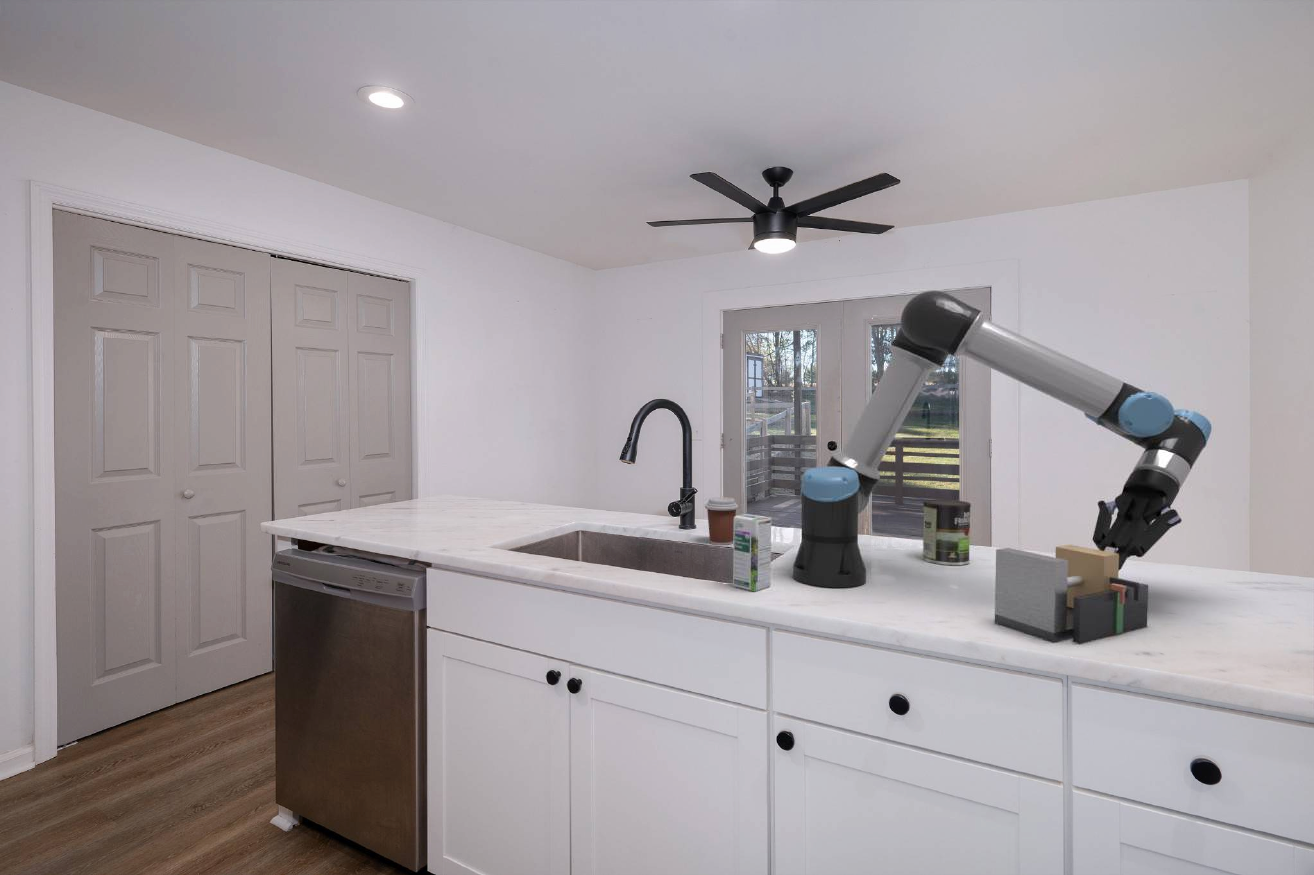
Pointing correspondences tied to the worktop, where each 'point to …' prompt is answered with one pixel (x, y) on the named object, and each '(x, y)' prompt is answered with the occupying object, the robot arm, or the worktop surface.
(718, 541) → the coffee cup
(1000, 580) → the stand
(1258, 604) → the worktop surface
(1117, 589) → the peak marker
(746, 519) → the syrup box
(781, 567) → the worktop surface
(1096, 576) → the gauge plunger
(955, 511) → the coffee can
